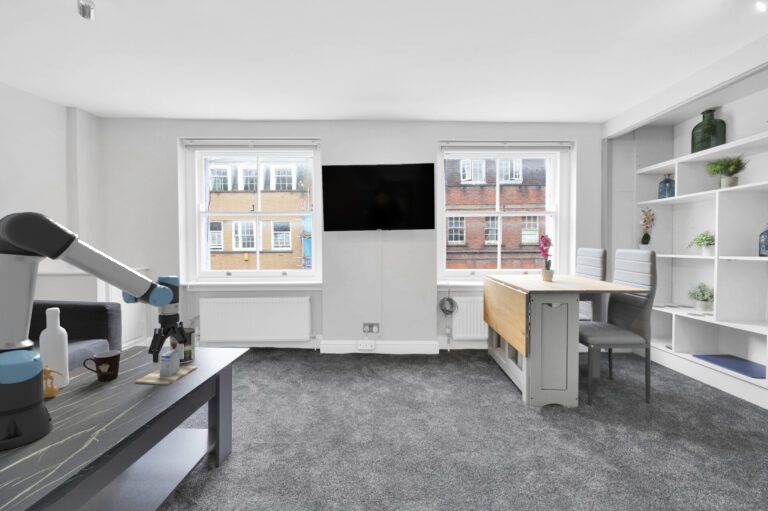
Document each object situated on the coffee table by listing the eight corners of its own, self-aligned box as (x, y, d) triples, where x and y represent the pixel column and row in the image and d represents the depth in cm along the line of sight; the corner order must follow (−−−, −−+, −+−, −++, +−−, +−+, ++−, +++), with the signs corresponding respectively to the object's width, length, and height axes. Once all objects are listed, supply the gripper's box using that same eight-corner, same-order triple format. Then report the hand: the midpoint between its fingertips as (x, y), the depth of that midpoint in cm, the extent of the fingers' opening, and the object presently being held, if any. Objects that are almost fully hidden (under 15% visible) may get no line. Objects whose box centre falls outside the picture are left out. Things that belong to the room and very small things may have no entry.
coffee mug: (126, 374, 149) (126, 351, 148) (108, 383, 140) (108, 357, 140) (100, 373, 150) (100, 349, 150) (81, 381, 141) (80, 356, 141)
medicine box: (169, 370, 152) (168, 350, 152) (180, 369, 153) (179, 349, 152) (159, 377, 144) (158, 356, 144) (170, 377, 145) (170, 355, 144)
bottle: (64, 381, 142) (62, 305, 141) (72, 385, 138) (70, 308, 136) (37, 388, 135) (34, 309, 134) (44, 392, 131) (42, 311, 130)
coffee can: (182, 365, 161) (182, 334, 160) (164, 362, 164) (164, 332, 163) (200, 357, 171) (200, 328, 170) (183, 355, 174) (183, 326, 173)
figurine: (68, 393, 131) (67, 360, 130) (60, 400, 125) (59, 366, 125) (39, 396, 128) (37, 363, 127) (29, 403, 122) (28, 369, 122)
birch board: (168, 384, 139) (168, 382, 139) (135, 383, 141) (135, 381, 141) (197, 368, 157) (197, 366, 157) (167, 366, 158) (167, 365, 158)
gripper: (155, 320, 135) (155, 375, 135) (196, 308, 159) (196, 355, 160) (136, 319, 135) (137, 374, 136) (180, 307, 160) (181, 354, 161)
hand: (169, 364), depth 148 cm, fingers open, 13 cm apart
